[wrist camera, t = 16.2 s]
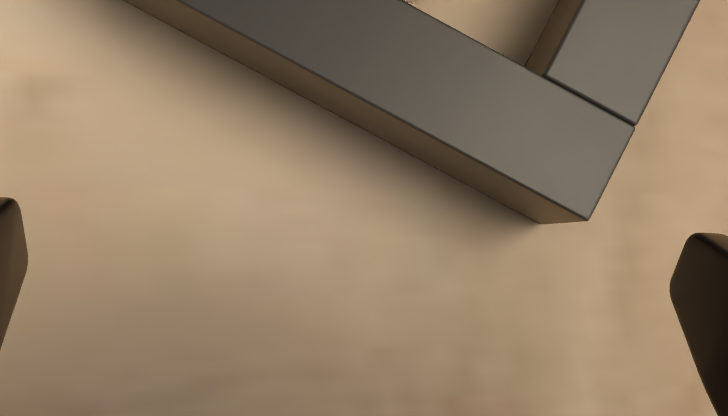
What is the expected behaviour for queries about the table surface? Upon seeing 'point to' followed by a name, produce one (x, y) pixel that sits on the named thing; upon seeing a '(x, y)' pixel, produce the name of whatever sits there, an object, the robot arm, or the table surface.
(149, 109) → the table surface
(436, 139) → the holder
